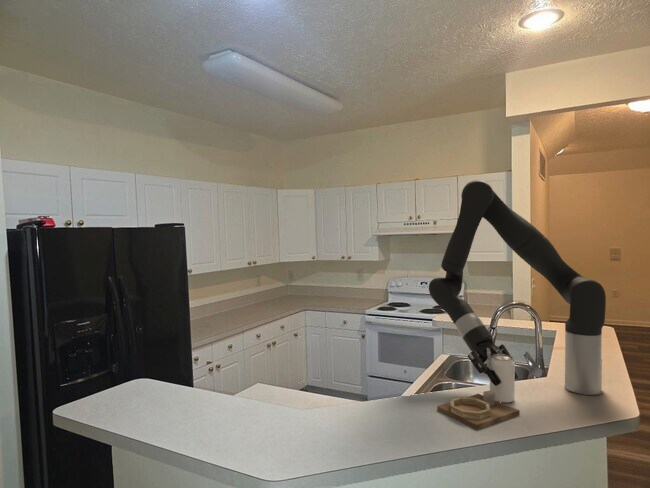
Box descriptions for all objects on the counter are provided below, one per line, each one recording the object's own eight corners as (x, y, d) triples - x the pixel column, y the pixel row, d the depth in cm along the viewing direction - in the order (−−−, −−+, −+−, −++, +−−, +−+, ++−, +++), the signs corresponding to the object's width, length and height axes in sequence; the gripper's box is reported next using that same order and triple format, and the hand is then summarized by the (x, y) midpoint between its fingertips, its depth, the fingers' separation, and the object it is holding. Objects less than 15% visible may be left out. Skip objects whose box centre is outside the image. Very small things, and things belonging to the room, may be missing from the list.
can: (517, 404, 116) (517, 360, 116) (492, 402, 117) (492, 359, 117) (511, 395, 122) (511, 354, 122) (487, 393, 124) (488, 353, 123)
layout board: (478, 397, 121) (478, 383, 121) (519, 414, 110) (519, 398, 109) (437, 410, 113) (437, 394, 113) (477, 429, 101) (477, 412, 101)
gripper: (463, 327, 122) (498, 380, 112) (496, 321, 129) (531, 370, 119) (449, 341, 127) (481, 393, 117) (482, 335, 134) (515, 383, 124)
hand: (507, 381), depth 118 cm, fingers open, 6 cm apart
